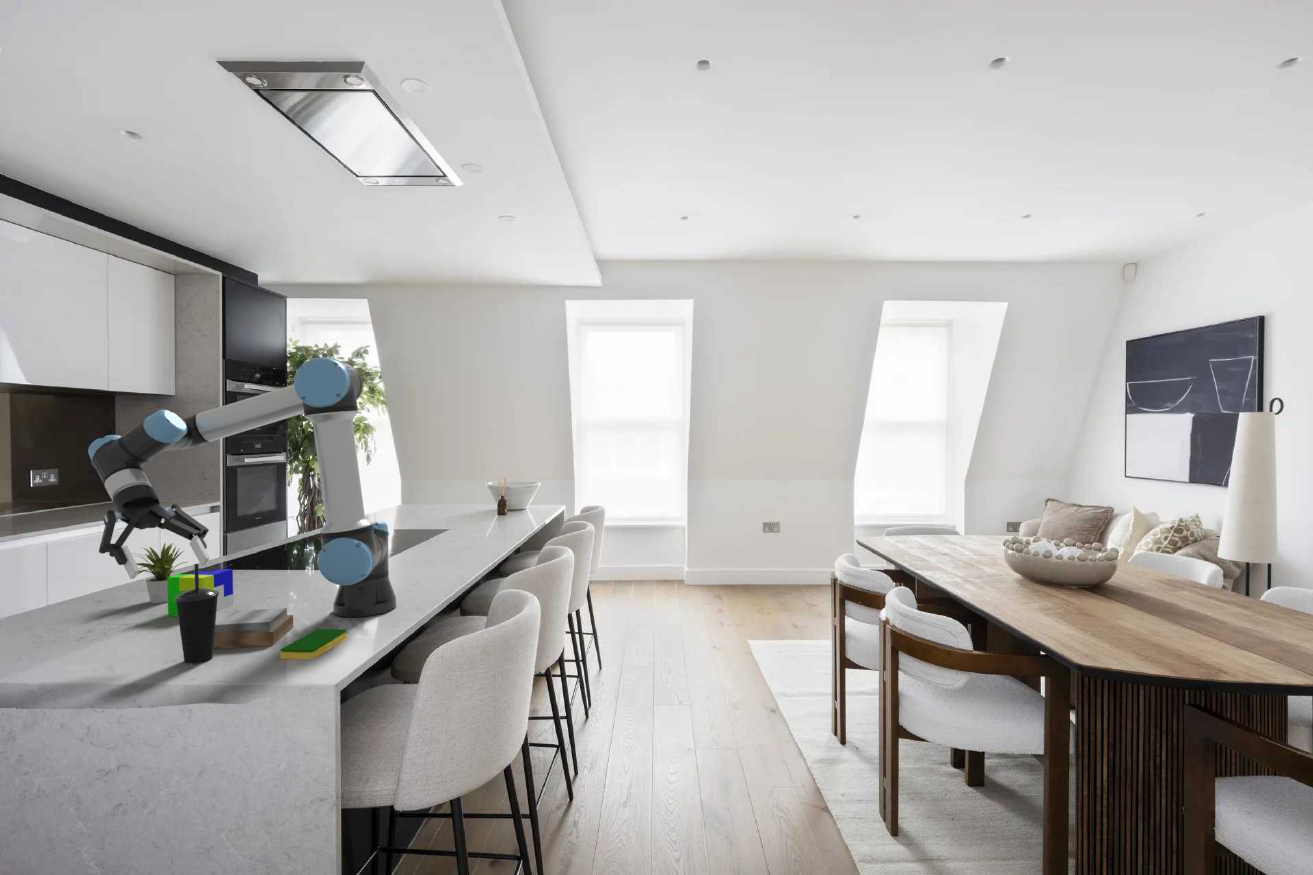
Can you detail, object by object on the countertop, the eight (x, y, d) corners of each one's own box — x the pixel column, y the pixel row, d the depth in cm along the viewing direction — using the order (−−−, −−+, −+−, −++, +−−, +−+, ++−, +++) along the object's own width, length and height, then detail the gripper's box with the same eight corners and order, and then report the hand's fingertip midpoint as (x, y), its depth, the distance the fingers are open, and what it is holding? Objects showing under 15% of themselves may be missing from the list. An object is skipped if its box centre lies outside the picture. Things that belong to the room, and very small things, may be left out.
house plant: (139, 596, 187) (137, 539, 187) (197, 591, 192) (196, 535, 192) (121, 609, 174) (120, 548, 173) (184, 603, 179) (183, 544, 179)
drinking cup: (190, 653, 140) (188, 560, 140) (228, 652, 141) (226, 559, 140) (167, 667, 133) (164, 568, 132) (207, 665, 133) (204, 567, 133)
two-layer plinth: (293, 627, 158) (292, 606, 158) (273, 645, 146) (272, 622, 145) (233, 630, 156) (233, 609, 156) (207, 649, 143) (207, 626, 143)
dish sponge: (279, 660, 137) (279, 649, 137) (317, 638, 151) (316, 628, 151) (312, 661, 137) (312, 649, 137) (347, 639, 151) (347, 628, 151)
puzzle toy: (233, 606, 177) (232, 569, 177) (204, 617, 167) (203, 577, 167) (199, 605, 178) (198, 568, 178) (168, 616, 168) (167, 577, 168)
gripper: (186, 499, 159) (225, 567, 153) (56, 512, 137) (94, 592, 130) (199, 478, 157) (238, 546, 150) (68, 488, 134) (108, 568, 128)
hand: (172, 568), depth 140 cm, fingers open, 13 cm apart
